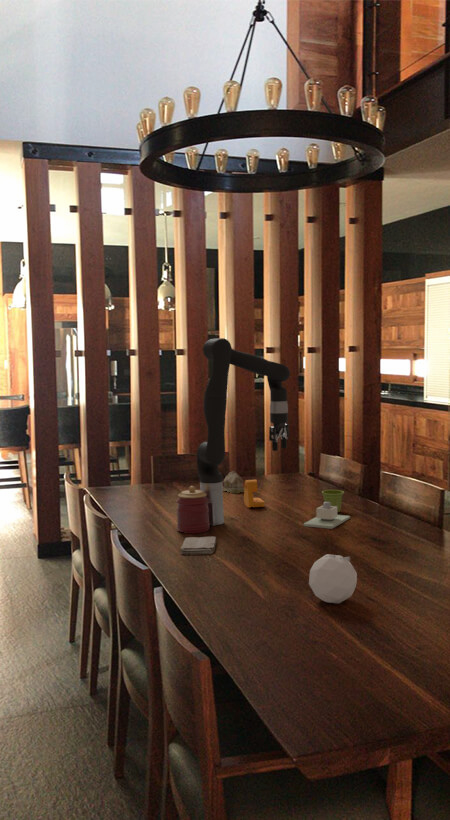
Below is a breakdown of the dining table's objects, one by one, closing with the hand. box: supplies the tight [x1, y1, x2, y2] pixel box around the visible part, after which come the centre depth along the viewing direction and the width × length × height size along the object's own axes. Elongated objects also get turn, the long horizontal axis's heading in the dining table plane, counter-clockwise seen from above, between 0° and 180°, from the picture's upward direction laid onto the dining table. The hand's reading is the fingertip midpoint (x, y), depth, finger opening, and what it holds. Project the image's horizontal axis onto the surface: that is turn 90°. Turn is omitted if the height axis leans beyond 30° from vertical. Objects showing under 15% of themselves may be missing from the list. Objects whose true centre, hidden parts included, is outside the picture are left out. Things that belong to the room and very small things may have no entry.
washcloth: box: [180, 536, 217, 556], centre depth 275 cm, size 12×18×3 cm, turn 178°
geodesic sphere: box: [308, 553, 358, 604], centre depth 213 cm, size 14×14×14 cm
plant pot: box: [321, 489, 345, 513], centre depth 328 cm, size 9×9×9 cm
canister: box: [175, 485, 211, 534], centre depth 301 cm, size 13×13×18 cm
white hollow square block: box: [315, 505, 338, 520], centre depth 309 cm, size 6×6×4 cm
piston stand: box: [303, 502, 351, 530], centre depth 309 cm, size 20×12×8 cm, turn 150°
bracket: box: [243, 479, 265, 509], centre depth 344 cm, size 11×7×12 cm, turn 11°
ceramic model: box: [223, 470, 245, 494], centre depth 383 cm, size 14×11×10 cm
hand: (279, 449), depth 327 cm, fingers open, 8 cm apart
